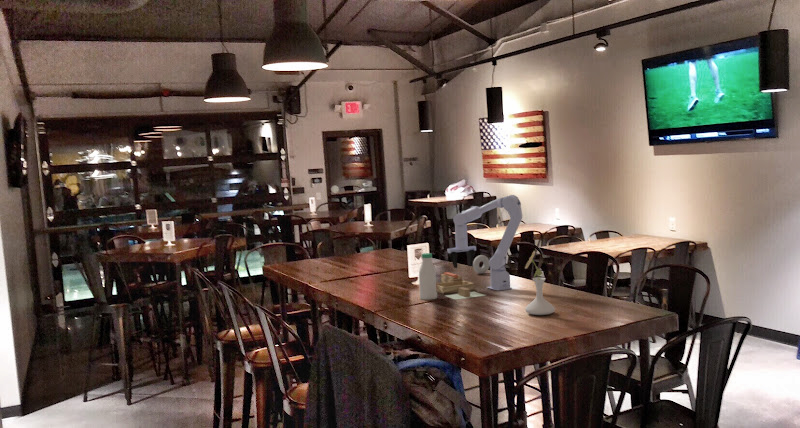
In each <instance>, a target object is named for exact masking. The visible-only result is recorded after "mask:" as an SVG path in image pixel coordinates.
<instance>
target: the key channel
mask: <svg viewBox="0 0 800 428" xmlns="http://www.w3.org/2000/svg"><path fill="white" fill-rule="evenodd" d="M460 280H463V277H462V276H461V275H458V278H454V277H451V276H447V275H444V273H441V274H440V283H445V282H453V281H460Z"/></svg>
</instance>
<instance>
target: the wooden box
mask: <svg viewBox="0 0 800 428" xmlns="http://www.w3.org/2000/svg"><path fill="white" fill-rule="evenodd" d="M461 287H464V288H468V289H470V291H475V283H474V282H470V281H466V280H463V279H462V280H460V281H453V282H445V283H441V282H439V283H437V293H439V294H442V295H449V294H456V293H458V288H461Z"/></svg>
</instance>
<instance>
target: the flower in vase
mask: <svg viewBox="0 0 800 428" xmlns="http://www.w3.org/2000/svg"><path fill="white" fill-rule="evenodd" d="M535 256H536V251H535V250H533V252H532V253H531V256H530V257H529V258H528V259H529V260H527V262H526V264H525V266H524V269H525V270H526V269H528V268H529V266H531V265H530V264H531V263H533V264H534V267H535V268H536V271H535V273H534V274H533V277H532V281H534V284H535V290H536V294H535V295H536V296H535V298H534V299H533V300H532V301H530V303H528V305H526V306H525V308H524V311H525V312H526V313H527V314H530V315H535V316H545V315H551V314H552V313H554V312H555V311H556V308H555V306H553V304H551V303H550V302H549V301H547V300H546V299H545V298H544V296H543V295H544V294H543V288H544V284H545V281H546V277H540V276H542V275H543V272H542V270H541V269H540V267H539V268H538V267H537V265H536V263H535V261H534V257H535ZM536 276H537V277H536Z"/></svg>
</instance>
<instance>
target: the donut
mask: <svg viewBox="0 0 800 428" xmlns="http://www.w3.org/2000/svg"><path fill="white" fill-rule="evenodd" d="M489 260H490V258H489V257H487V256H486V255H483V254H480V255H477V256H476V257H475V258H473V260H472V269H473V270H474V271H475V273H477V274H479V275H480V274H485V273H486V272H488V270H490V266H489ZM480 263H483V264H482V266H480Z"/></svg>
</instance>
